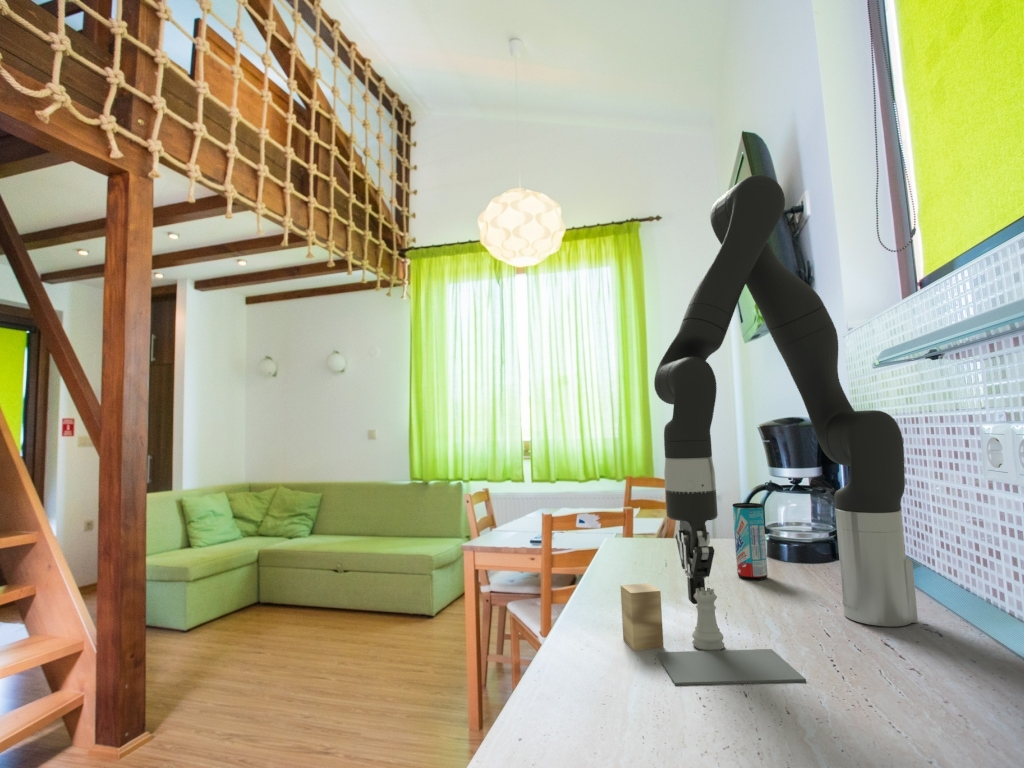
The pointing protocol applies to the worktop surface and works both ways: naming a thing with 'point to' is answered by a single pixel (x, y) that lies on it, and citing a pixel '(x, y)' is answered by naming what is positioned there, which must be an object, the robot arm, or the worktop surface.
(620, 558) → the worktop surface
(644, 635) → the oak block
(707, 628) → the rook chess piece
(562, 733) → the worktop surface
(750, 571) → the beverage can
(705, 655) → the mat
